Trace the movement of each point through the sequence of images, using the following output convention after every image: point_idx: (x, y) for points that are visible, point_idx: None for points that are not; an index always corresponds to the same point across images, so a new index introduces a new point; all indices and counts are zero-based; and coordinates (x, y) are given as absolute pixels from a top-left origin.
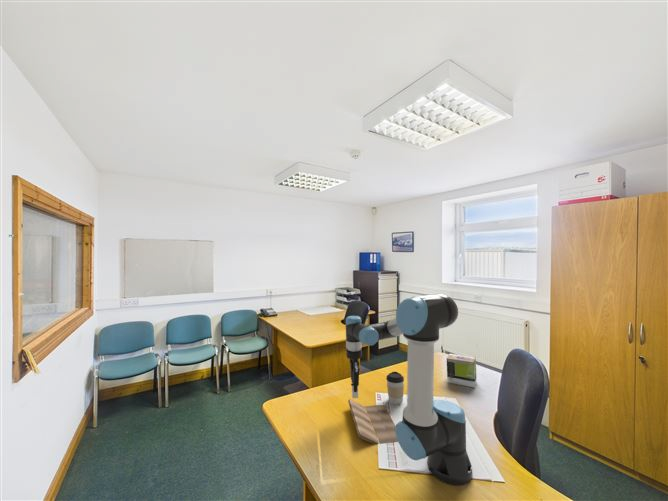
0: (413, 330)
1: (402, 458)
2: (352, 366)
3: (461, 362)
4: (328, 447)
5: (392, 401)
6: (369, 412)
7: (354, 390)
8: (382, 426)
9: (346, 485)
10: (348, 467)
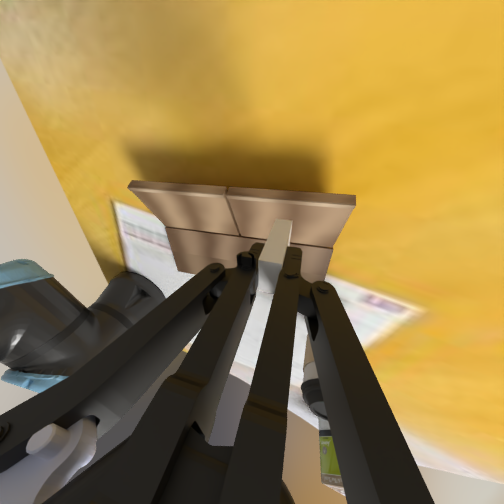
0: None
1: (146, 250)
2: (108, 492)
3: (341, 480)
4: (141, 60)
5: None
6: None
7: (250, 249)
8: (223, 255)
9: (45, 114)
10: (91, 129)
